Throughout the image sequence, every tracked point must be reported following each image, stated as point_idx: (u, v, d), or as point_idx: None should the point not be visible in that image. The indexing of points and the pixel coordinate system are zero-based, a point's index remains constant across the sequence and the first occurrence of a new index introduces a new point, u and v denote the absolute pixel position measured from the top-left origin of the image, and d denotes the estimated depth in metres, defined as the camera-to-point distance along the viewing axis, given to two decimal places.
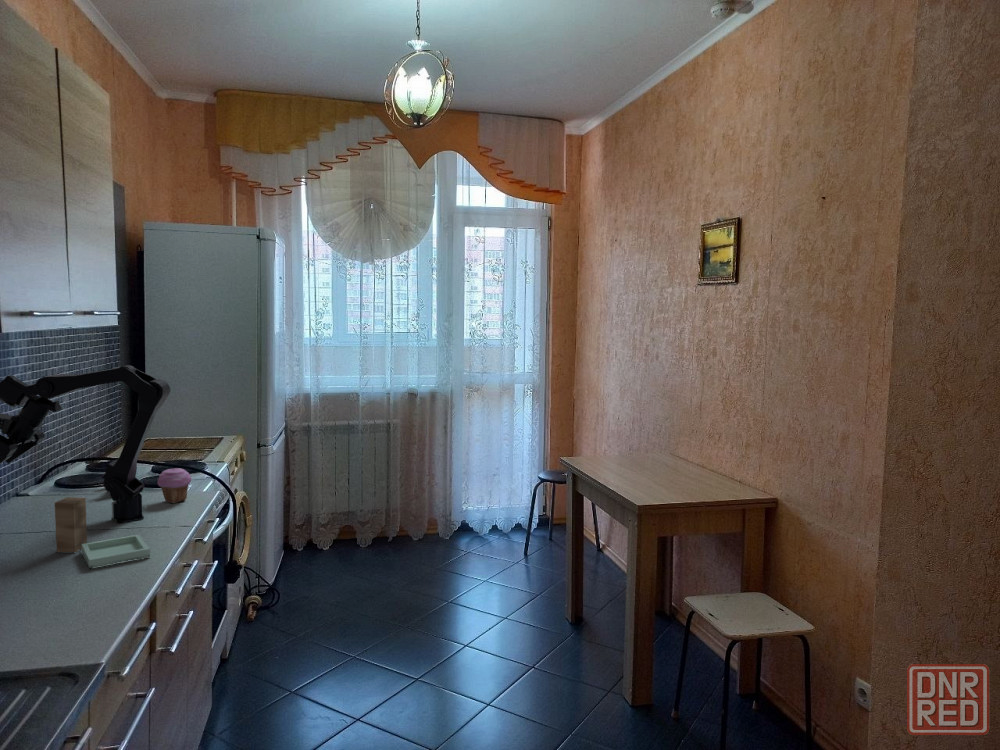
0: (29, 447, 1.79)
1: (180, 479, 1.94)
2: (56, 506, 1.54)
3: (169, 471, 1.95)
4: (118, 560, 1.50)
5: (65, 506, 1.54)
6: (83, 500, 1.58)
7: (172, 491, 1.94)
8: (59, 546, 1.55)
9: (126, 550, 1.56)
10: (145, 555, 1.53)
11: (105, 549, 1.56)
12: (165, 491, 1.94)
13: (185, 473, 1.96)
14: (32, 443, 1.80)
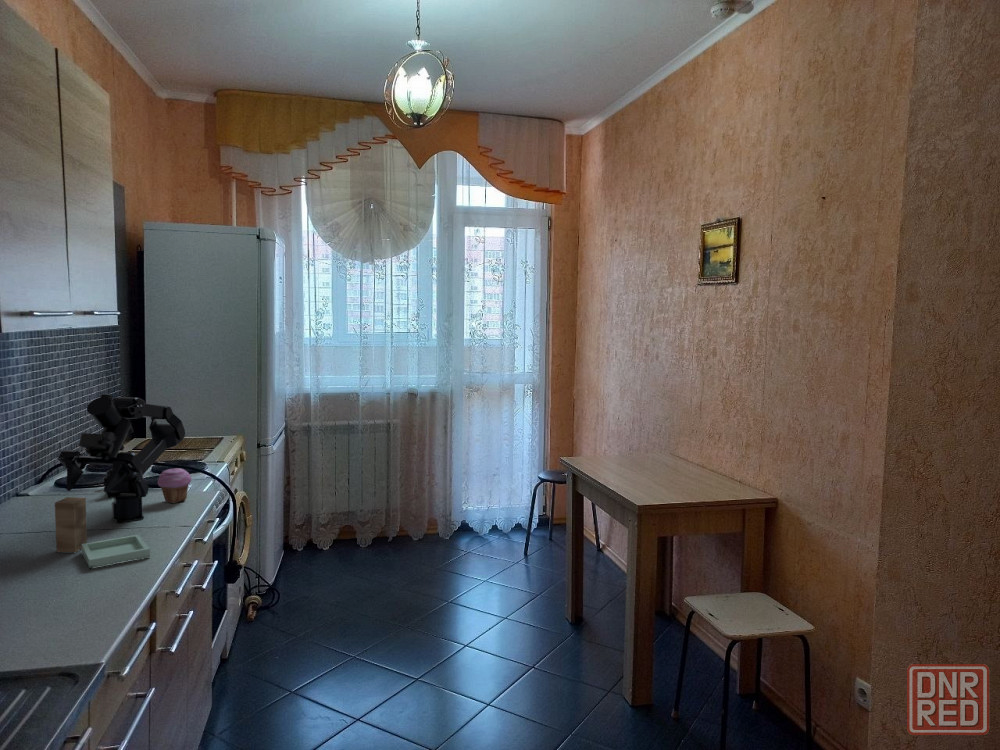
0: (81, 473, 1.68)
1: (180, 479, 1.94)
2: (56, 506, 1.54)
3: (169, 471, 1.95)
4: (118, 560, 1.50)
5: (65, 506, 1.54)
6: (83, 500, 1.58)
7: (172, 491, 1.94)
8: (59, 546, 1.55)
9: (126, 550, 1.56)
10: (145, 555, 1.53)
11: (105, 549, 1.56)
12: (165, 491, 1.94)
13: (185, 473, 1.96)
14: None
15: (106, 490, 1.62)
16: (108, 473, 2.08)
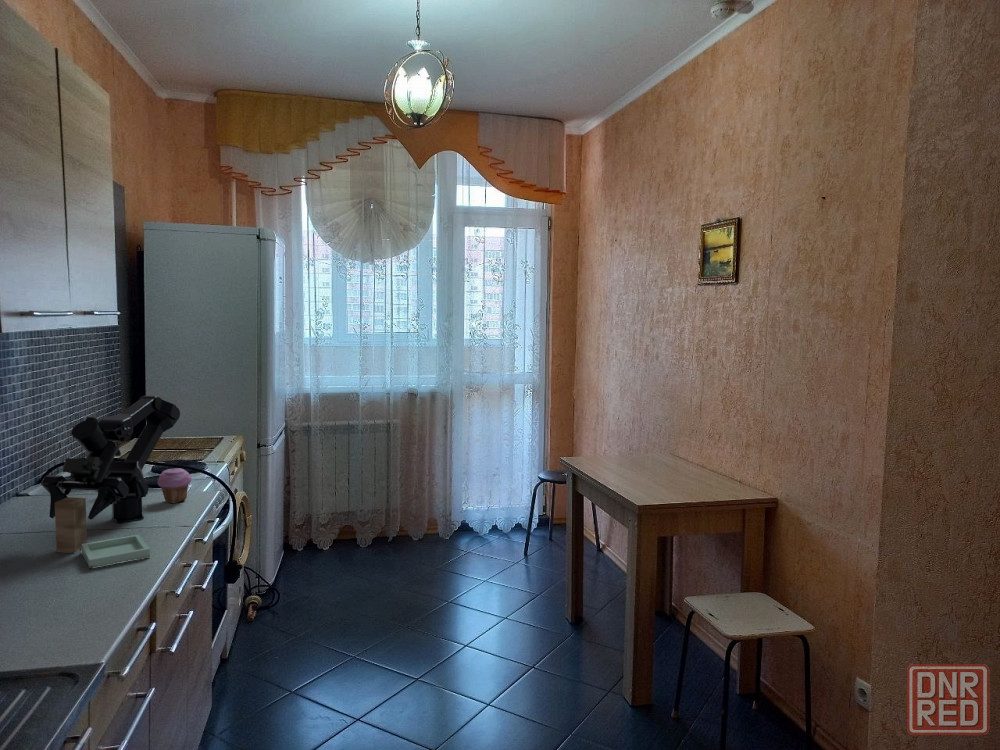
0: None
1: (180, 479, 1.94)
2: (56, 506, 1.54)
3: (169, 471, 1.95)
4: (118, 560, 1.50)
5: (65, 506, 1.54)
6: (83, 500, 1.58)
7: (172, 491, 1.94)
8: (59, 546, 1.55)
9: (126, 550, 1.56)
10: (145, 555, 1.53)
11: (105, 549, 1.56)
12: (165, 491, 1.94)
13: (185, 473, 1.96)
14: None
15: (91, 517, 1.57)
16: None
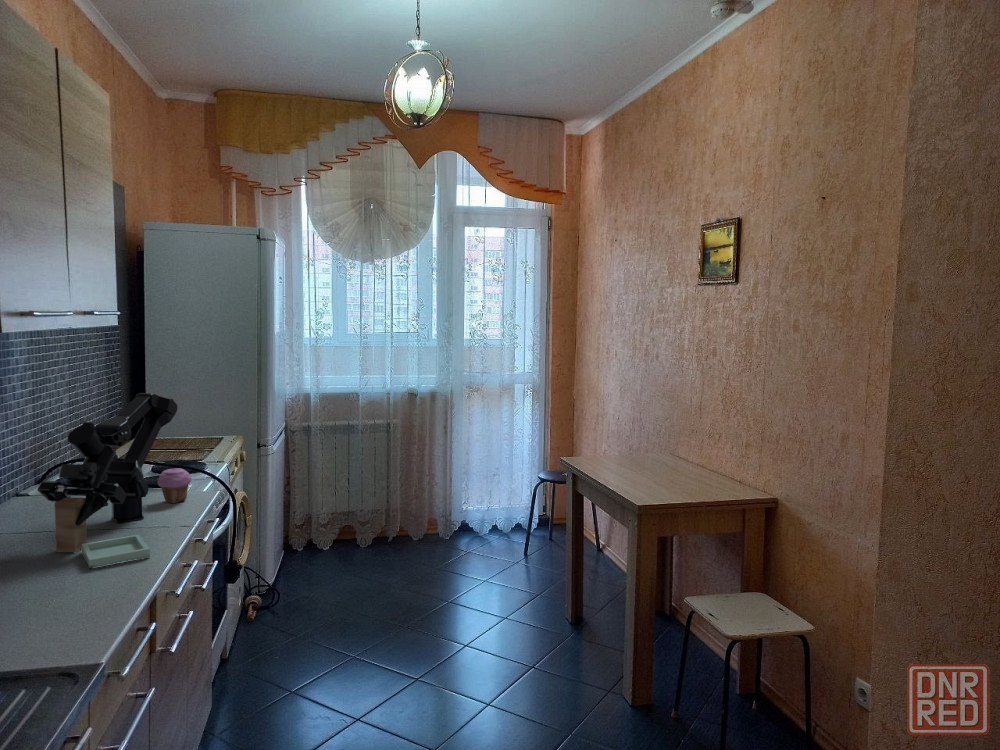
0: None
1: (180, 479, 1.94)
2: (56, 506, 1.54)
3: (169, 471, 1.95)
4: (118, 560, 1.50)
5: (65, 506, 1.54)
6: (83, 500, 1.58)
7: (172, 491, 1.94)
8: (59, 546, 1.55)
9: (126, 550, 1.56)
10: (145, 555, 1.53)
11: (105, 549, 1.56)
12: (165, 491, 1.94)
13: (185, 473, 1.96)
14: None
15: (78, 523, 1.56)
16: None
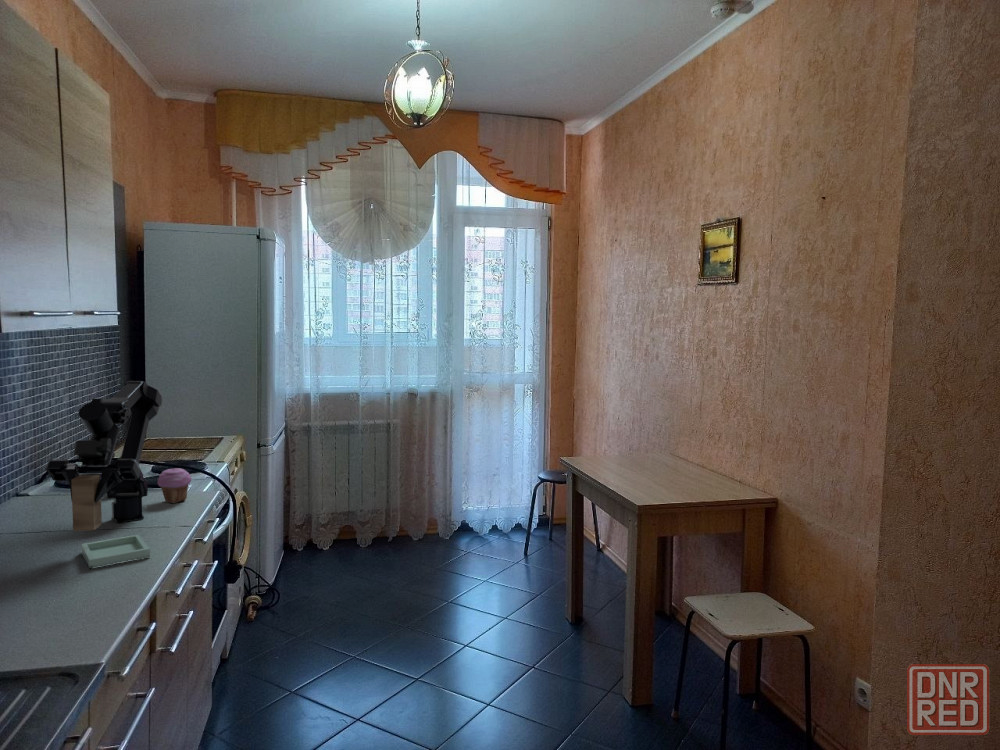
0: None
1: (180, 479, 1.94)
2: (73, 483, 1.51)
3: (169, 471, 1.95)
4: (118, 560, 1.50)
5: (83, 483, 1.52)
6: (99, 477, 1.55)
7: (172, 491, 1.94)
8: (76, 524, 1.52)
9: (126, 550, 1.56)
10: (145, 555, 1.53)
11: (105, 549, 1.56)
12: (165, 491, 1.94)
13: (185, 473, 1.96)
14: None
15: (97, 500, 1.53)
16: None
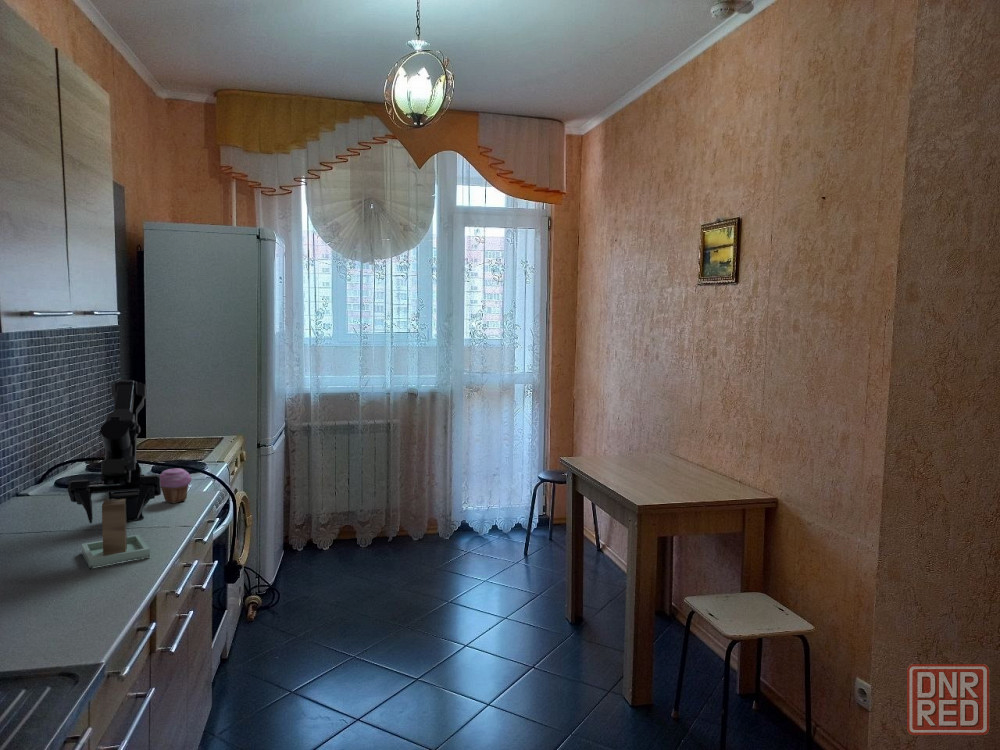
0: (91, 503, 1.56)
1: (180, 479, 1.94)
2: (103, 509, 1.51)
3: (169, 471, 1.95)
4: (118, 560, 1.50)
5: (114, 508, 1.51)
6: (125, 501, 1.55)
7: (172, 491, 1.94)
8: (106, 550, 1.52)
9: (126, 550, 1.56)
10: (145, 555, 1.53)
11: None
12: (165, 491, 1.94)
13: (185, 473, 1.96)
14: None
15: (138, 517, 1.55)
16: None
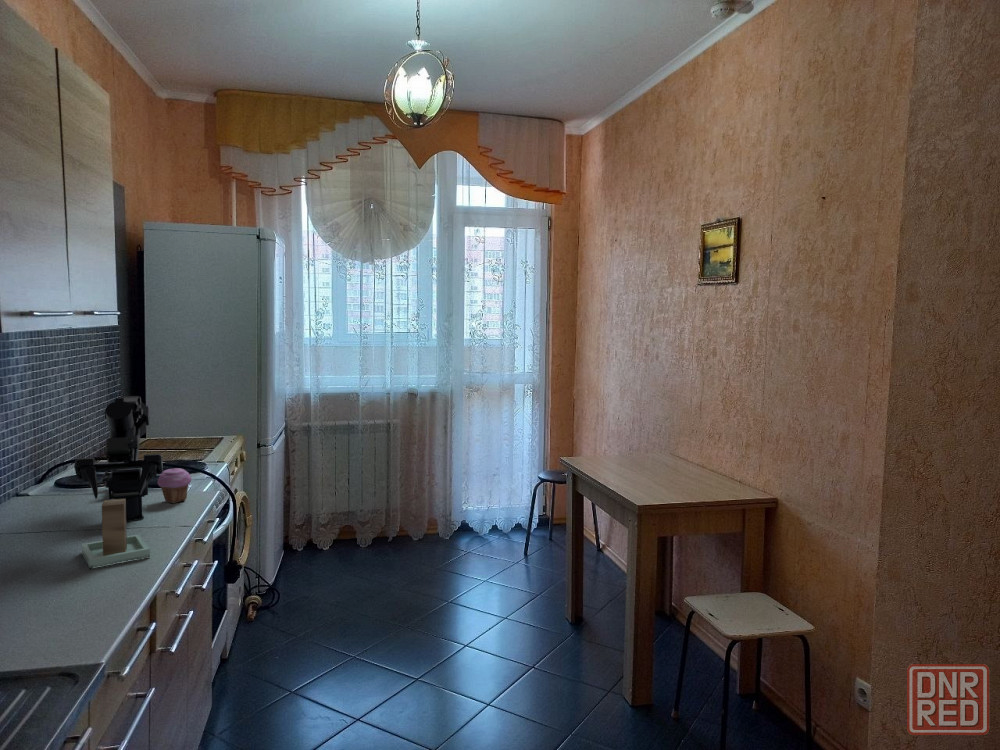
0: None
1: (180, 479, 1.94)
2: (103, 509, 1.51)
3: (169, 471, 1.95)
4: (118, 560, 1.50)
5: (114, 508, 1.51)
6: (125, 501, 1.55)
7: (172, 491, 1.94)
8: (106, 550, 1.52)
9: (126, 550, 1.56)
10: (145, 555, 1.53)
11: None
12: (165, 491, 1.94)
13: (185, 473, 1.96)
14: None
15: (140, 493, 1.62)
16: (106, 474, 2.07)
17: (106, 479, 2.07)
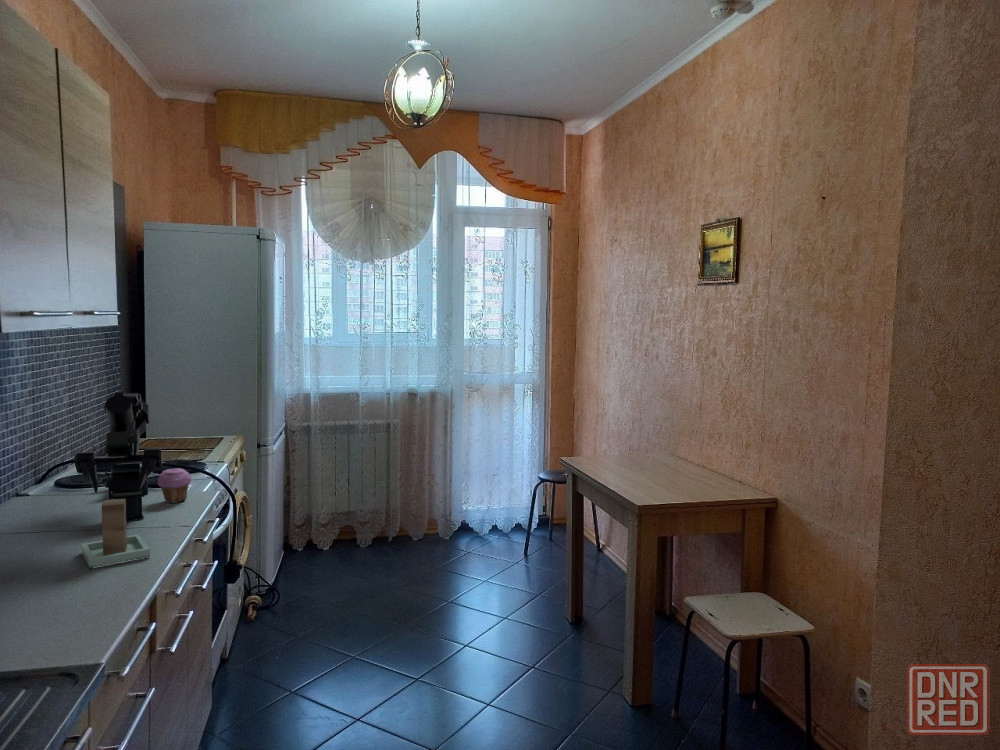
0: (96, 474, 1.63)
1: (180, 479, 1.94)
2: (103, 509, 1.51)
3: (169, 471, 1.95)
4: (118, 560, 1.50)
5: (114, 508, 1.51)
6: (125, 501, 1.55)
7: (172, 491, 1.94)
8: (106, 550, 1.52)
9: (126, 550, 1.56)
10: (145, 555, 1.53)
11: None
12: (165, 491, 1.94)
13: (185, 473, 1.96)
14: None
15: (140, 487, 1.62)
16: (106, 474, 2.07)
17: (106, 479, 2.07)
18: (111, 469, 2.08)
